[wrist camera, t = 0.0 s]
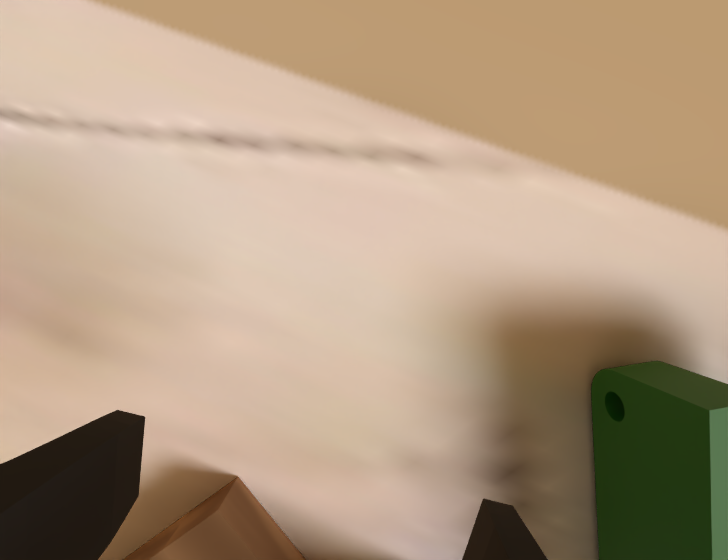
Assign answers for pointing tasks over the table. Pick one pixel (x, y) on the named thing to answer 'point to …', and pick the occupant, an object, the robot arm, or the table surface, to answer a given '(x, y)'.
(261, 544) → the holder
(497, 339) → the table surface
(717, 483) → the green block
